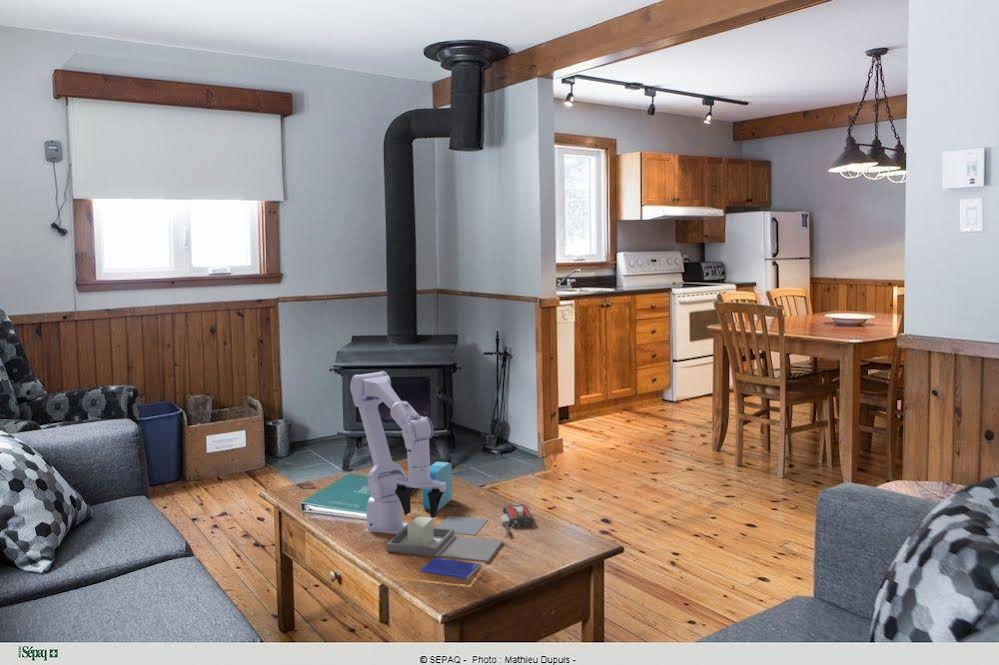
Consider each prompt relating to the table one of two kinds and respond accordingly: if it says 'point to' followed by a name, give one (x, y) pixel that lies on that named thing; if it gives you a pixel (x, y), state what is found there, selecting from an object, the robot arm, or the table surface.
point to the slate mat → (463, 525)
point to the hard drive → (450, 568)
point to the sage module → (421, 531)
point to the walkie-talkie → (516, 517)
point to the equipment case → (447, 546)
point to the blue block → (442, 474)
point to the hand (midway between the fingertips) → (420, 515)
